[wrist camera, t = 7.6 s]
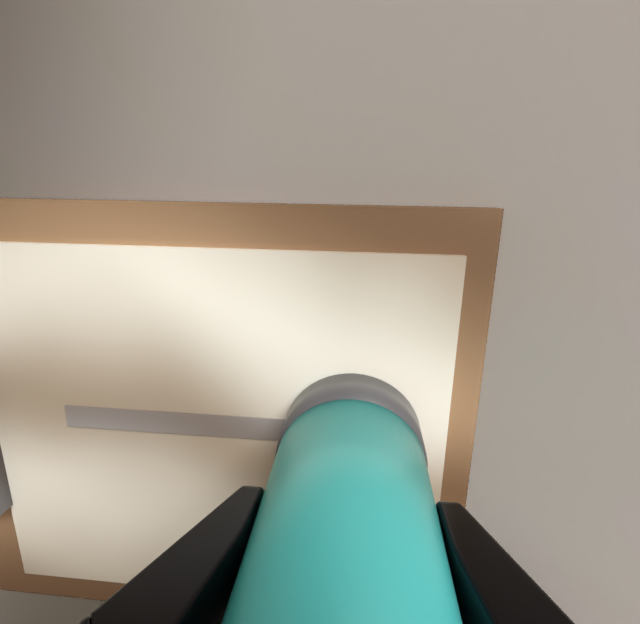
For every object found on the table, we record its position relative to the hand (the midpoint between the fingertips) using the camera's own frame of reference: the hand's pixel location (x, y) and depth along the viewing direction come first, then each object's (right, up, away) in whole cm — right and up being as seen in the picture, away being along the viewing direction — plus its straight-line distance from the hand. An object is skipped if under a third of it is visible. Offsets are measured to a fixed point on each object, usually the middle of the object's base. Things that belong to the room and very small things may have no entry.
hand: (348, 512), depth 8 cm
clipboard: (-4, +1, +4) cm, 5 cm away
